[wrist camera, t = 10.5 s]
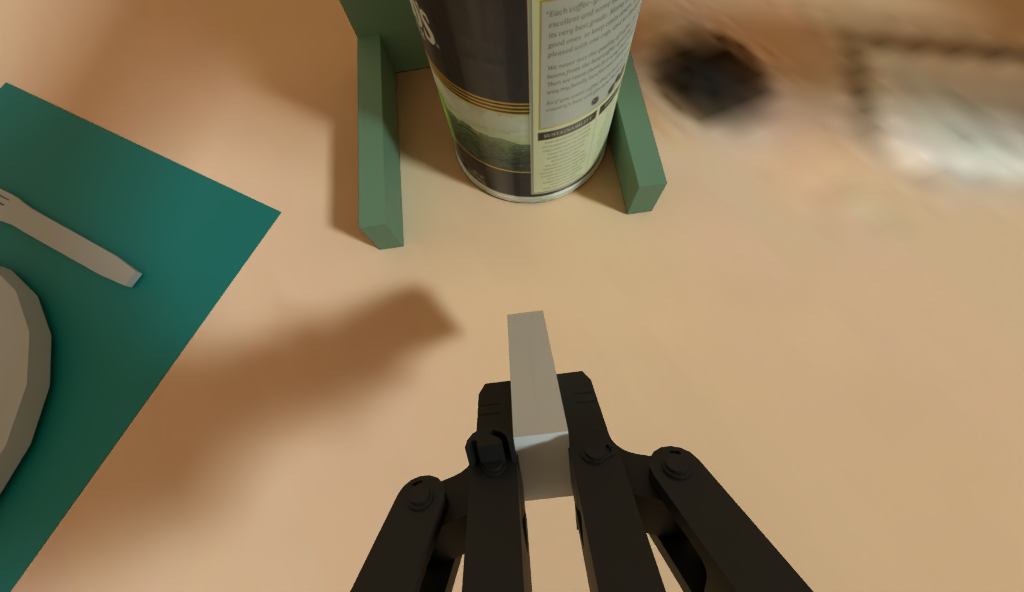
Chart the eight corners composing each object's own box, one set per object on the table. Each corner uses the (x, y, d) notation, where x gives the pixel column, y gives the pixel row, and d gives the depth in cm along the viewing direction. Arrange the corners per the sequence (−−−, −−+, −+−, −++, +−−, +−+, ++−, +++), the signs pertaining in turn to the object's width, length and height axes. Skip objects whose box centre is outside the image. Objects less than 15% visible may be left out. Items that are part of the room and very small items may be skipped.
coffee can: (452, 209, 25) (349, -37, 11) (457, 81, 28) (381, -233, 14) (615, 202, 24) (712, -66, 11) (602, 72, 27) (665, -264, 14)
